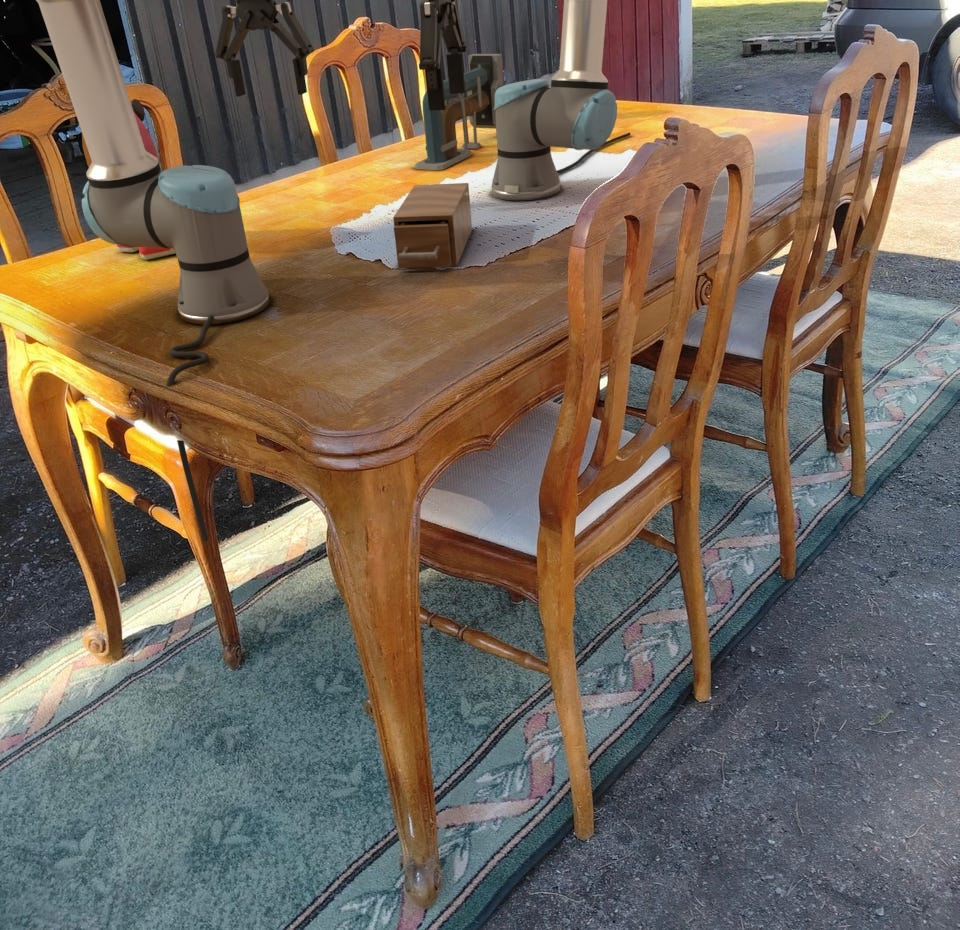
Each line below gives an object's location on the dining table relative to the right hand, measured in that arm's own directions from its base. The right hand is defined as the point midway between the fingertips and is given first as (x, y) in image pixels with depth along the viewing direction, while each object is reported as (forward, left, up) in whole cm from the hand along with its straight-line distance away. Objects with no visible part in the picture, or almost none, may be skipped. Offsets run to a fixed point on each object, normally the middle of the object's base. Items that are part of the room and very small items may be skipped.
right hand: (447, 101), depth 168 cm
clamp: (-72, -40, -28) cm, 87 cm away
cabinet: (-2, -7, -28) cm, 28 cm away
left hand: (-7, -45, -1) cm, 45 cm away
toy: (+15, -64, -28) cm, 72 cm away
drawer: (+4, -4, -27) cm, 27 cm away
